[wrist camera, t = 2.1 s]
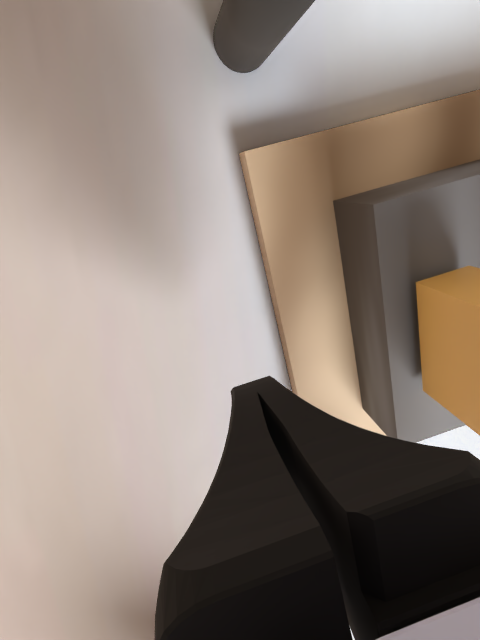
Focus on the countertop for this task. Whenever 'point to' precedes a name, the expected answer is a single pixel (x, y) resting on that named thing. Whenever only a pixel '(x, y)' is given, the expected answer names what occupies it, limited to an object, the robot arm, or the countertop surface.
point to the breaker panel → (311, 231)
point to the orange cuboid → (451, 341)
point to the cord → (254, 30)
